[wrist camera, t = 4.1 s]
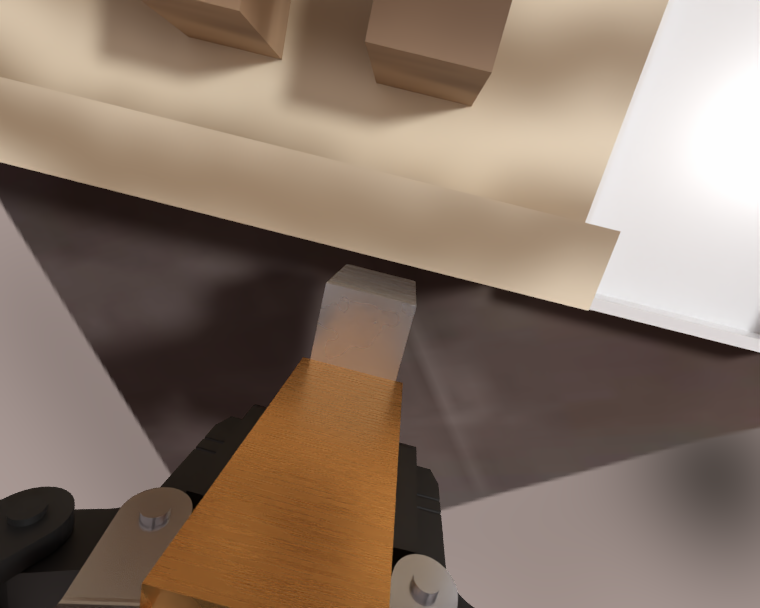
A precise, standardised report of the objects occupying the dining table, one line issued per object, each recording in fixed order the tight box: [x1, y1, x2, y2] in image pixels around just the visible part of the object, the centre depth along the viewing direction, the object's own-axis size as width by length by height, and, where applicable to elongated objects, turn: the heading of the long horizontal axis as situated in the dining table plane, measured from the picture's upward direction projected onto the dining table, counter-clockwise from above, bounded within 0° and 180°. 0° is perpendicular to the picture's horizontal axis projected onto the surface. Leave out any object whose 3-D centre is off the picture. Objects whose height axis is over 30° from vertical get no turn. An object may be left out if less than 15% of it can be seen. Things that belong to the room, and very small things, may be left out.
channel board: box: [0, 0, 669, 311], centre depth 15 cm, size 17×28×7 cm, turn 77°
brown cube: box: [365, 0, 512, 106], centre depth 13 cm, size 4×4×4 cm
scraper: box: [140, 264, 416, 608], centre depth 11 cm, size 9×4×12 cm, turn 166°
